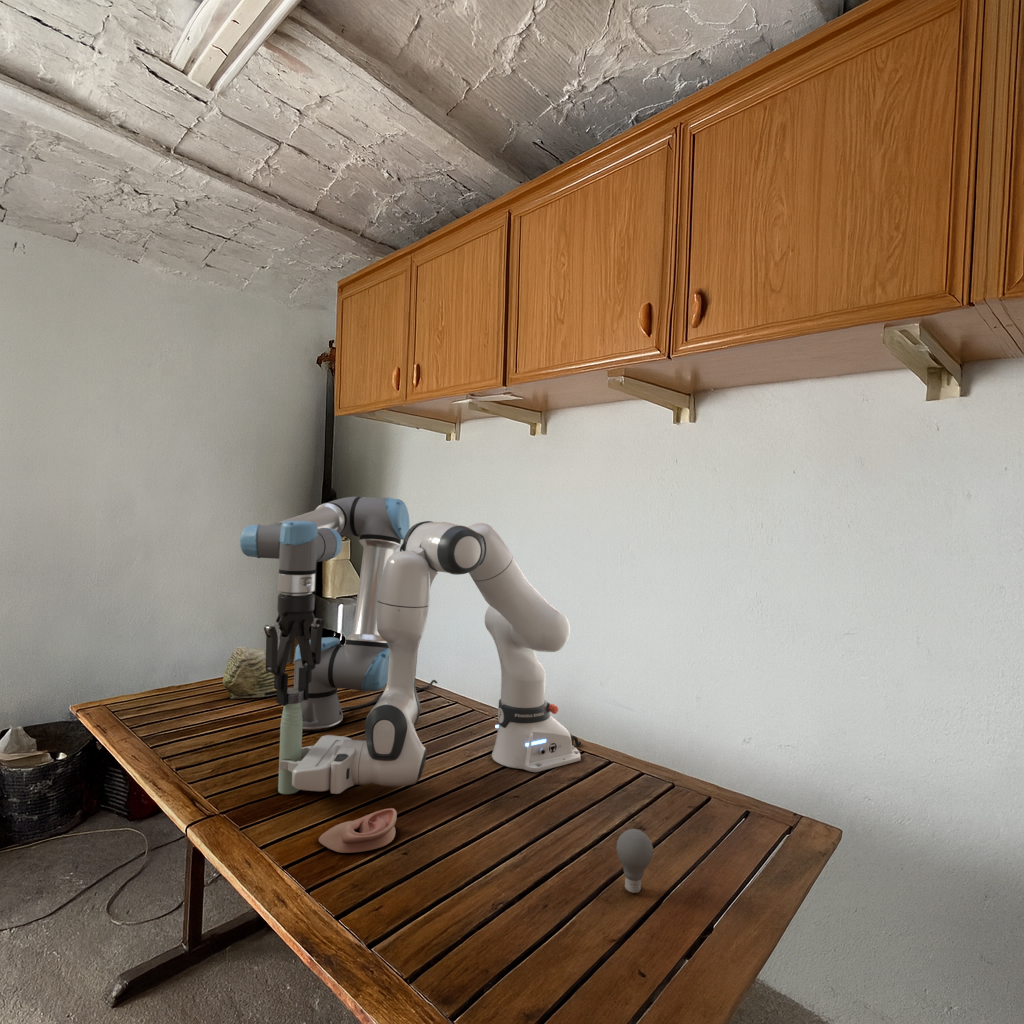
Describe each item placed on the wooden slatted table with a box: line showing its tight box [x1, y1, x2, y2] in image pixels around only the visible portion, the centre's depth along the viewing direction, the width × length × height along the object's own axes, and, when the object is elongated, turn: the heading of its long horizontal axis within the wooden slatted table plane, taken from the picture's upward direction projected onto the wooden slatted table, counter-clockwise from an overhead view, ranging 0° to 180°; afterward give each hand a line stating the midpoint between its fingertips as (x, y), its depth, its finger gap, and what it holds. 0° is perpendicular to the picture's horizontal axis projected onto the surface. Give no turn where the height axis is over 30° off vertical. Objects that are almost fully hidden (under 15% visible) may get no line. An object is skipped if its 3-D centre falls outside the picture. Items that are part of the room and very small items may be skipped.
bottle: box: [277, 703, 303, 795], centre depth 136 cm, size 4×4×21 cm
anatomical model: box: [318, 807, 398, 854], centre depth 118 cm, size 13×4×12 cm
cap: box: [287, 686, 304, 704], centre depth 136 cm, size 4×5×2 cm
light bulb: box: [615, 828, 654, 894], centre depth 106 cm, size 6×6×10 cm
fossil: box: [222, 646, 277, 699], centre depth 198 cm, size 9×18×15 cm, turn 132°
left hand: (292, 700), depth 136 cm, fingers closed on cap, 4 cm apart
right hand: (286, 758), depth 136 cm, fingers closed on bottle, 4 cm apart
